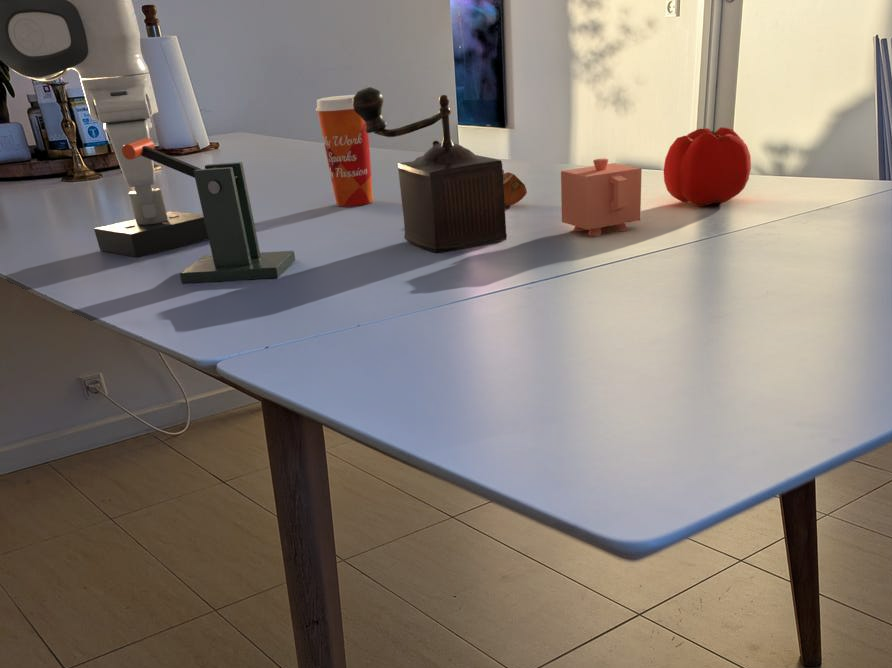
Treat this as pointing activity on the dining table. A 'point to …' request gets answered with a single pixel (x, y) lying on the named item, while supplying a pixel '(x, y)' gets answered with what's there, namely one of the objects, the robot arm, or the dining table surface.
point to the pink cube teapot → (601, 196)
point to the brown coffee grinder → (443, 185)
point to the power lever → (157, 156)
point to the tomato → (707, 166)
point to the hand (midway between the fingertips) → (150, 213)
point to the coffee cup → (346, 150)
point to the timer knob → (159, 208)
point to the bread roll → (512, 189)
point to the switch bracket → (231, 231)
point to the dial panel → (152, 235)
